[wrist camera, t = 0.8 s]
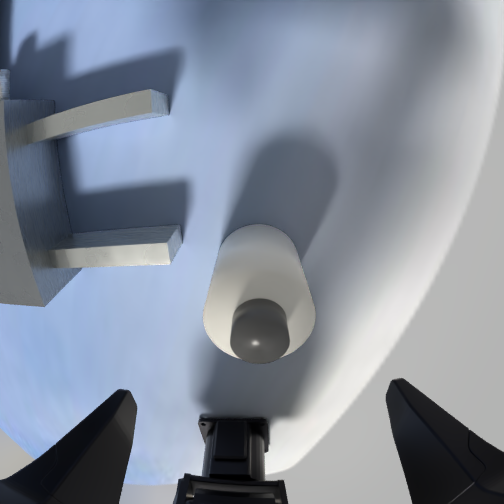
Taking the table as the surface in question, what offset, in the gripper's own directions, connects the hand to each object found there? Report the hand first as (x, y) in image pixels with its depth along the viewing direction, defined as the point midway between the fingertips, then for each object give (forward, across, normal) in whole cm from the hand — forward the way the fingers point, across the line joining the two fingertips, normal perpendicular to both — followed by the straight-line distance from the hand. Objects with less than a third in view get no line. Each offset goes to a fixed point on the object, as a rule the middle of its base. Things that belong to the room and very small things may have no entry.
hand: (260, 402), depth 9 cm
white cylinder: (+11, 0, 0) cm, 11 cm away
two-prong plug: (+10, +12, -8) cm, 18 cm away
